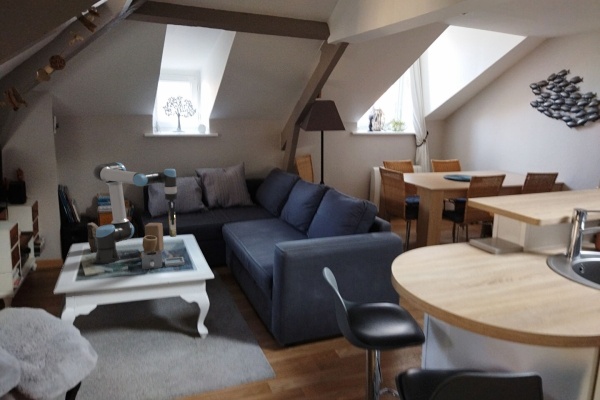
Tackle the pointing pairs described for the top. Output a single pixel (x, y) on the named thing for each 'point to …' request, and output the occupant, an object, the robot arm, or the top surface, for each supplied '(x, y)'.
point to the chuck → (151, 259)
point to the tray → (174, 261)
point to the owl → (92, 236)
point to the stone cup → (149, 243)
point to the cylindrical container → (172, 232)
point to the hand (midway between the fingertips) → (172, 228)
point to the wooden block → (155, 234)
